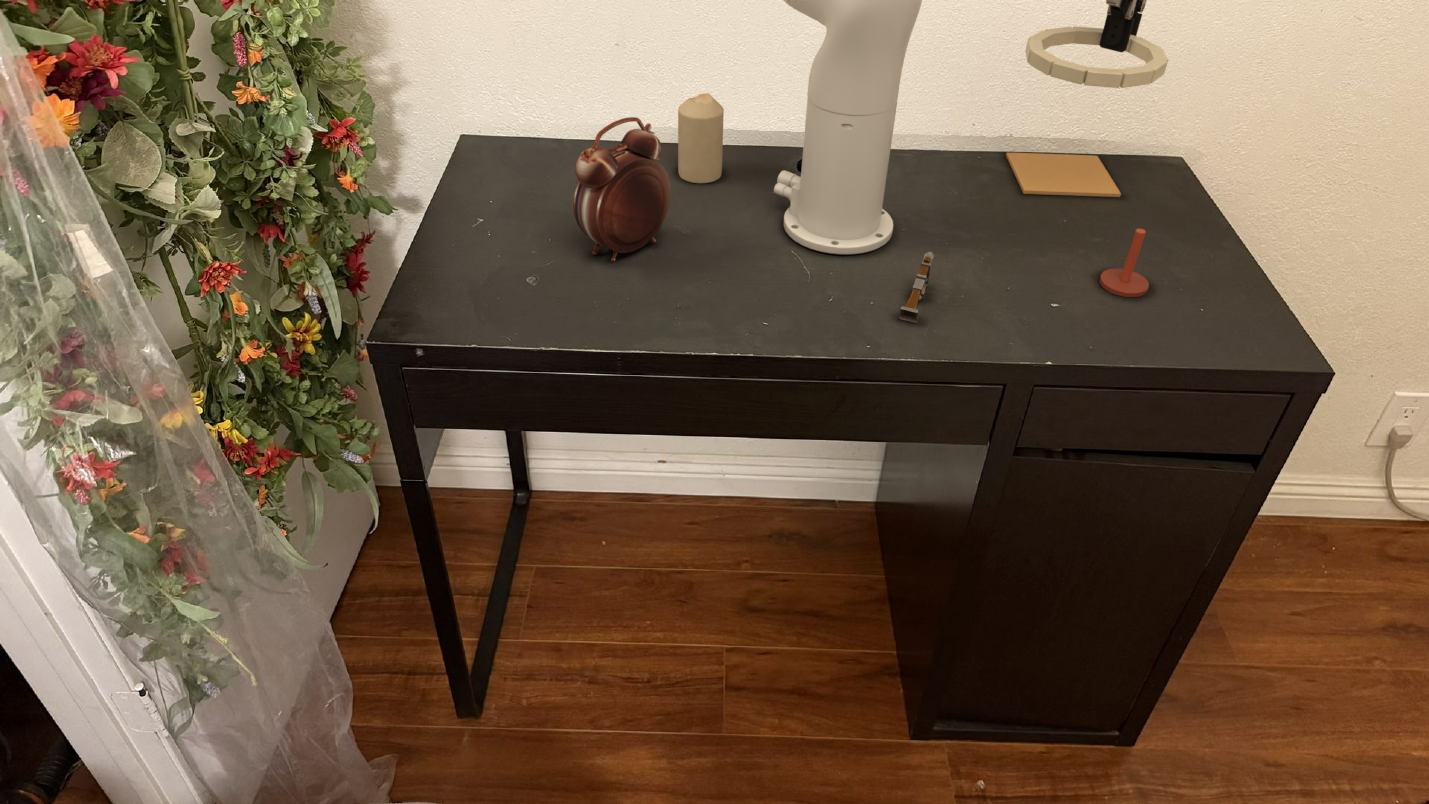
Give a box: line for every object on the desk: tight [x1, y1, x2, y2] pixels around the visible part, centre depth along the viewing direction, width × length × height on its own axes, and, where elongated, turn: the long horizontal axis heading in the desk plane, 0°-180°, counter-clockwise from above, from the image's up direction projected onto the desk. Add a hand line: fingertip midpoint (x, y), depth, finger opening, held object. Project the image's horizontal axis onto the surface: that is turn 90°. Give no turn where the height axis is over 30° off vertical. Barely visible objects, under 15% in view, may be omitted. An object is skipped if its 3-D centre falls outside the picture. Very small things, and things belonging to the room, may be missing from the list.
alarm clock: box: [572, 116, 672, 262], centre depth 106 cm, size 11×5×15 cm, turn 136°
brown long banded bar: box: [899, 251, 935, 324], centre depth 102 cm, size 2×8×4 cm, turn 157°
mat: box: [1005, 151, 1122, 198], centre depth 127 cm, size 12×11×1 cm
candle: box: [677, 92, 725, 184], centre depth 122 cm, size 6×6×10 cm
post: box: [1098, 228, 1150, 298], centre depth 105 cm, size 5×5×7 cm
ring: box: [1025, 26, 1169, 89], centre depth 118 cm, size 16×16×2 cm
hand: (1116, 45), depth 122 cm, fingers closed on ring, 1 cm apart
